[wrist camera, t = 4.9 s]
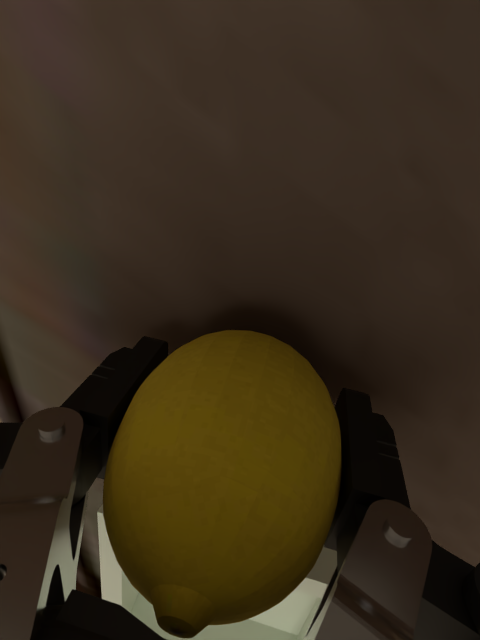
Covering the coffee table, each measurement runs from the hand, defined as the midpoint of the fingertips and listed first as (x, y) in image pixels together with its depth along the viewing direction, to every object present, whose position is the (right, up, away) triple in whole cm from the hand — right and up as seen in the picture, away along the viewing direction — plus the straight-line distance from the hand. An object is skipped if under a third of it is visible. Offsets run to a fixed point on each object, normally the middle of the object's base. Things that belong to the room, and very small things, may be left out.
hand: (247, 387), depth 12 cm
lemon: (0, +1, +2) cm, 2 cm away
